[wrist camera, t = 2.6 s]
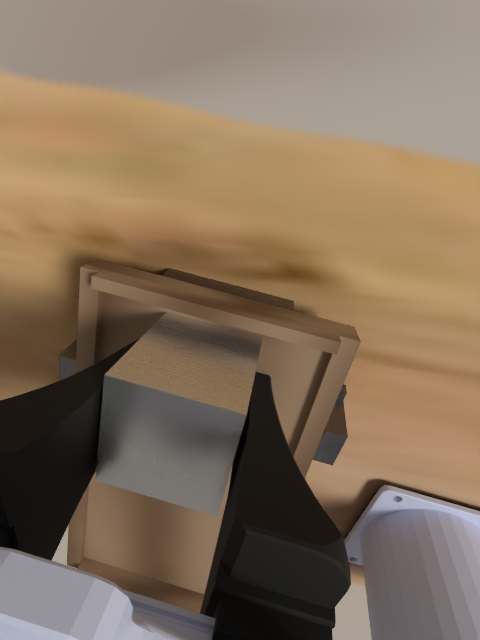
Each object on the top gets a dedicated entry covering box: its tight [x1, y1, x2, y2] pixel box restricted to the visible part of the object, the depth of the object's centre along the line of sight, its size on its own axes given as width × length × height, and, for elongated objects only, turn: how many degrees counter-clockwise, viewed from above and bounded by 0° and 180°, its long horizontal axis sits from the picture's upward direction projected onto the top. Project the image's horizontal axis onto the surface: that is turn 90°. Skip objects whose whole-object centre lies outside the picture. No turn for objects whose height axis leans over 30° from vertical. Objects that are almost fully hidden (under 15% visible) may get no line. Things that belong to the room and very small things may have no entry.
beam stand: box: [59, 268, 348, 465], centre depth 19 cm, size 14×17×3 cm
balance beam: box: [67, 259, 360, 613], centre depth 17 cm, size 11×18×2 cm, turn 168°
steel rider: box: [96, 312, 263, 517], centre depth 12 cm, size 4×4×5 cm
